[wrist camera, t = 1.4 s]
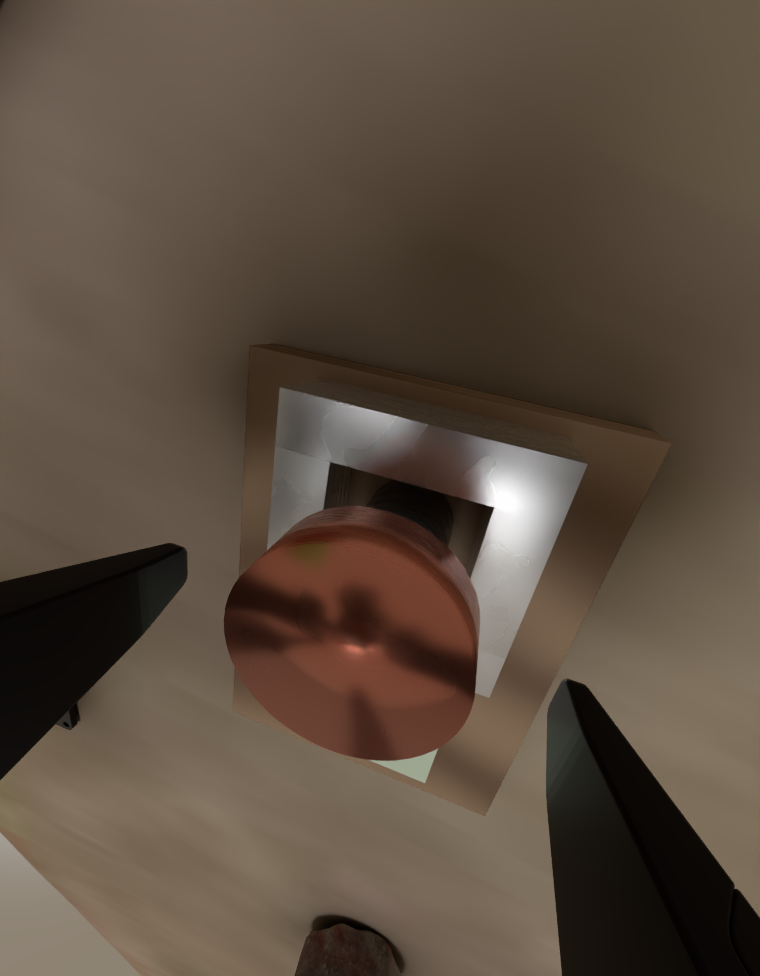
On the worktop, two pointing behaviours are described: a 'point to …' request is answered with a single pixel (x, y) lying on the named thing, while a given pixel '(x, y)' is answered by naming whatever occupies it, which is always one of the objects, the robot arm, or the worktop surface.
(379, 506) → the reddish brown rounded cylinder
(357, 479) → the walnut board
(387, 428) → the block
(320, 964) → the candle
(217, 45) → the worktop surface
